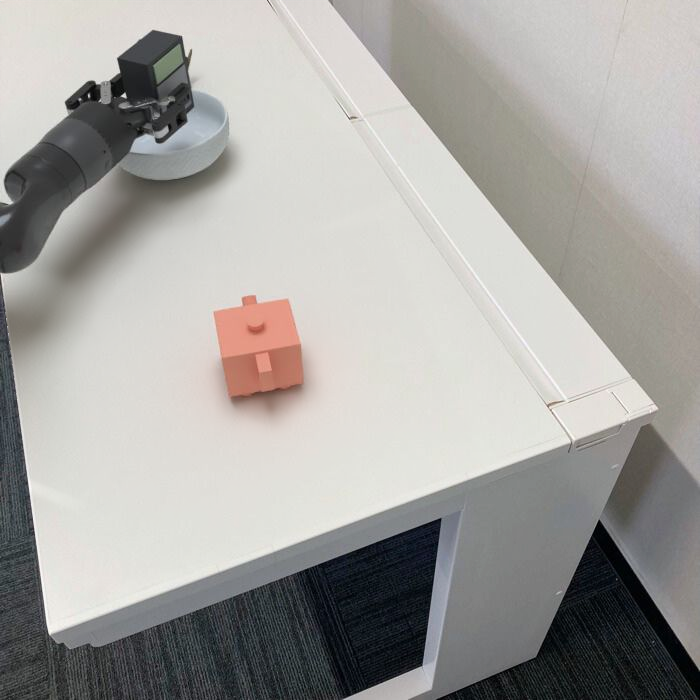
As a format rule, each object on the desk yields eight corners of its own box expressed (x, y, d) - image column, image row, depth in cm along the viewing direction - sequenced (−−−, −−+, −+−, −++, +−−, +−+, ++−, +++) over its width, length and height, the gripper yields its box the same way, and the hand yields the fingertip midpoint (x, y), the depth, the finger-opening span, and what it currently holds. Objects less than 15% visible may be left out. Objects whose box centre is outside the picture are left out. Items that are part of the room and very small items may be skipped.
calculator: (134, 130, 101) (116, 57, 94) (166, 100, 106) (152, 29, 99) (164, 137, 100) (148, 65, 93) (195, 107, 105) (183, 36, 97)
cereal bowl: (202, 117, 116) (195, 73, 111) (255, 172, 107) (250, 127, 102) (94, 153, 110) (81, 109, 105) (140, 214, 101) (128, 169, 95)
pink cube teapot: (287, 323, 87) (281, 269, 81) (308, 404, 80) (304, 351, 74) (218, 335, 86) (207, 281, 80) (233, 419, 78) (222, 366, 72)
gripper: (127, 133, 85) (201, 66, 95) (23, 107, 89) (105, 44, 99) (141, 189, 91) (210, 119, 101) (42, 162, 95) (118, 97, 104)
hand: (158, 82), depth 100 cm, fingers open, 8 cm apart
